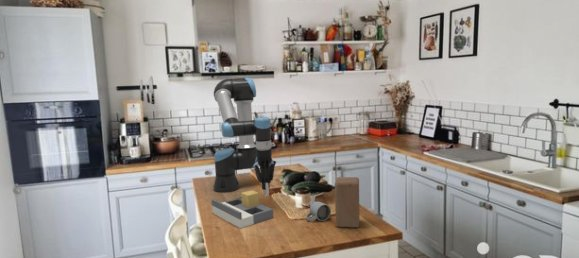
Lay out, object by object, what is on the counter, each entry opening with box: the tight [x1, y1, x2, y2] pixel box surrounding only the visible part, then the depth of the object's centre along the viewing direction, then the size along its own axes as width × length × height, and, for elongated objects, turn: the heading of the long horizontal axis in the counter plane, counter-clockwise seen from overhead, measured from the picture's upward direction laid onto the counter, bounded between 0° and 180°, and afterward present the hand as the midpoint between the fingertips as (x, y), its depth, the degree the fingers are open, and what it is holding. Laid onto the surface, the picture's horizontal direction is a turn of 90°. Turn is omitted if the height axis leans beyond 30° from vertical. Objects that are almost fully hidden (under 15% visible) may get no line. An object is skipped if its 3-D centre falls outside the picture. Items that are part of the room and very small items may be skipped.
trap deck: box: [211, 197, 274, 229], centre depth 184 cm, size 18×26×7 cm
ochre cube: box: [240, 189, 260, 208], centre depth 186 cm, size 6×6×6 cm
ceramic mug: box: [305, 201, 332, 222], centre depth 176 cm, size 11×8×8 cm
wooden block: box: [334, 176, 360, 228], centre depth 168 cm, size 10×10×20 cm
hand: (266, 195), depth 192 cm, fingers closed
